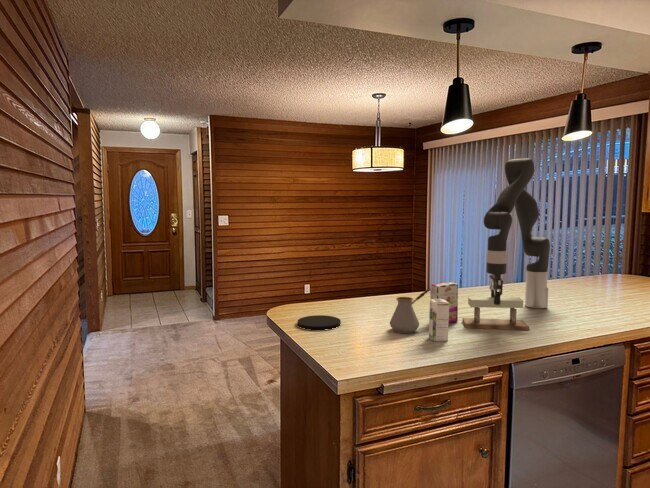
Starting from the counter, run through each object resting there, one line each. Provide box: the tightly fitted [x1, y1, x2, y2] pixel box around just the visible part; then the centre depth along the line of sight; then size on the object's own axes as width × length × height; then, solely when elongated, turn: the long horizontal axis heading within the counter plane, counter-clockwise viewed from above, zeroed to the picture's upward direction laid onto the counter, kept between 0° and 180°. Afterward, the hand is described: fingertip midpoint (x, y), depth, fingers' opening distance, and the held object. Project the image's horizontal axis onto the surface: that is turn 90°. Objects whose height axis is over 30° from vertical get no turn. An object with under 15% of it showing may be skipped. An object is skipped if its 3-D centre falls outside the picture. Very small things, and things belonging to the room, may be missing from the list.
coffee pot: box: [389, 288, 432, 334], centre depth 181 cm, size 21×12×15 cm, turn 128°
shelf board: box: [467, 296, 524, 309], centre depth 184 cm, size 20×6×3 cm, turn 82°
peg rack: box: [462, 307, 530, 331], centre depth 185 cm, size 24×10×8 cm, turn 80°
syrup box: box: [428, 299, 450, 342], centre depth 167 cm, size 6×6×14 cm
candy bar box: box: [429, 281, 459, 324], centre depth 190 cm, size 11×5×16 cm, turn 117°
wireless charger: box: [297, 314, 342, 331], centre depth 188 cm, size 18×18×2 cm
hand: (495, 302), depth 184 cm, fingers closed on shelf board, 6 cm apart
